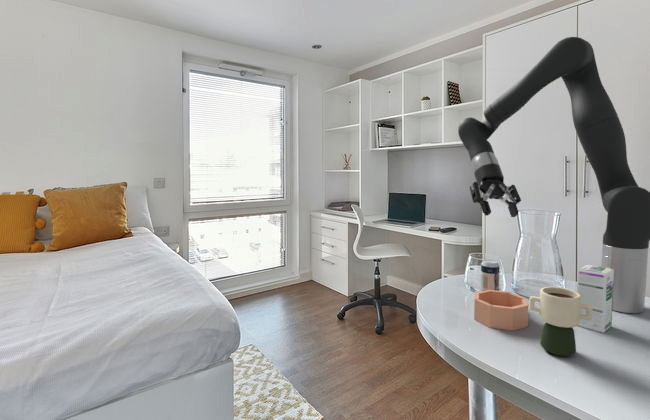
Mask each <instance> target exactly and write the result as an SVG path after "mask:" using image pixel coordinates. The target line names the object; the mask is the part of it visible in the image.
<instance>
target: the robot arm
mask: <svg viewBox="0 0 650 420" xmlns="http://www.w3.org/2000/svg"><path fill="white" fill-rule="evenodd" d="M594 51H595V50H594V48H593V46H592V44H591V43H590V42H589V41H587V40H586V39H583V38H582V37H578V36H569V37H565V38H563V39H561V40H560V41H557V43H555V44H554V45H553V46H552V48H551V49H549V51H547V53H545V55H544V56H543V57H541V59H540V60H539V61H538V62H537V64H535V65H534V66H533V68H531V69H530V70H529V71H528V72H527V73H526V74H524V76H523V77H522V78H521V79H520V80H518V81H517V82H515V84H513V85H512V86H511V87H510V88H509V89H507V91H505V92H504V93H502V94H501V95H500V96H499V97H497V98H496V99H495V100H494V101H493V102H491V103H490V104H489V105H488V106H486V108H485V109H484V110H483V116H484V118H485V119H484V120H482V122H481V121H480V120H479V119H477V118H475V117H466V118H463V120H461V121H460V122H459V125H458V128H457V131H458V132H457V134H458V137H459V139H460V141H461V142H462V144H463V146H464V148H465V149H466V150H467V152H468V155H469V158H470V161H471V167H472V170H473V174H474V177H475V181H474V182H473V183H472V184H471V185H469V192H470V194H471V195H470V196H471V200H472V202H473V204H477V203H478V204H479V205H480V207H481V211H482V213H483V214H484V216H490V214H492V210H491V206H490V203H489V201H488V200H498V201H500V202H501V203H505V205H507V209H508V211H509V214H510V217H511V218H515V217H517V216H518V215H519V213H520V212H518V211H519V210H518V206H517V204H519V203H520V202H521V201H522V198H521V197H520V194H519V191H518V190H517V188H516V185H515V184H511V185H510V186H509V185H508V186H507V185H506V184H505V182H504V180H505V179H504V174H503V172H502V169H501V166H500V163H499V160H498V158H497V157H496V154H495V152H494V149H493V147H492V145H491V143H490V141H489V140H488V139H490V137H491V136H492V135H493V134H494V133H495V131H497V130H498V128H499V127H500V126H501V124H503V123H504V122H506V121H507V120H508V119H509V118H511V117H512V116H513V115H515V114H516V113H517V112H519V111H520V110H521V109H522V108H523V107H524V106H525V105H526V104H527V103H528V102H529V101H530V100H531V99H532V98H533V97H534V96H536V95H537V93H539V92H540V91H542V90H543V89H544V88H545V87H547V86H548V85H550V84H551V83H553V82H555V81H556V80H558V79H560V78H561V79H562V81H563V83H564V85H565V87H566V89H567V91H568V95H569V97H570V104H571V115H572V120H573V127H574V129H575V132H576V134H577V138H578V140H579V142H580V145H581V146H582V150H583V152H584V154H585V156H586V158H587V160H588V162H589V163H590V164H589V165H590V166H591V168H592V169H593V172H594V175H595V177H596V181H597V184H598V188H599V192H600V197H601V198H600V199H601V201H602V206H603V208H604V210H605V211H606V212H607V215H606V226H605V227H606V229H605V231H604V233H603V235H602V249H601V250H602V251H601V263H600V264H601V265H600V266H603V267H608V268H612V269H614V279H613V305H612V311H616V312H620V313H623V314H624V313H625V314H641V313H643V312H644V309H645V304H646V302H645V301H646V300H645V299H646V288H647V273H648V272H647V271H648V261H649V260H648V259H649V258H648V257H649V247H650V246H649V244H650V191H649V190H647V189H646V188H643V187H641V186H639V185H638V183H637V182H636V180H635V177H634V175H633V173H632V171H631V168H630V166H629V163H628V158H627V156H628V155H627V154H628V152H627V142H626V140H627V139H626V135H625V131H624V128H623V126H622V123H621V121H620V120H621V119H620V118H619V115H618V113H617V111H616V109H615V106H614V104H613V102H612V100H611V98H610V96H609V95H608V93H607V90H606V89H605V87H604V85H603V83H602V80H601V77H600V73H599V69H598V66H597V62H596V56H595V52H594ZM481 193H482V194H481ZM504 196H505V197H504Z"/></svg>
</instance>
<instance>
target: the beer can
mask: <svg viewBox="0 0 650 420" xmlns="http://www.w3.org/2000/svg"><path fill="white" fill-rule="evenodd" d="M485 290H496V291H500V264H499V262H498V261H497V260H494V259H483V260H482V262H481V263H480V291H485Z"/></svg>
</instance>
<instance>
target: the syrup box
mask: <svg viewBox="0 0 650 420" xmlns="http://www.w3.org/2000/svg"><path fill="white" fill-rule="evenodd" d="M576 278H577V279H576V292H578V293H579V294H580V295H581V303H582V304H589V305H591V306H592V308H593V311H592V319H591V320H584V319H580V322H579V324H578V326H577V327H581V328H584V329H587V330H592V331H595V332H598V333H602V334H604V333H605V332H606V331H608V329H610V328H611V327H612V326H613V324H612V323H613V322H612V321H613V310H612V305H613V279H614V269H612V268H608V267H603V266H601V265H596V264H595V265H594V264H585V265H584V266H581V267H580V268H578V269H577V277H576ZM586 310H587V309H585V308H581V313H580V314H581V315H586Z"/></svg>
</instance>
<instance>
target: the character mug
mask: <svg viewBox="0 0 650 420" xmlns="http://www.w3.org/2000/svg"><path fill="white" fill-rule="evenodd" d="M528 301H529V302H528V310H530V311H532V312H538V313H539V316H540V319H541V320H542V321H543V322H544V325H543V327H542V332H541V336H540V346H541V348H543V349H544V350H546V351H547V352H549V353H551V354H554V355H558V356H560V357H561V356H562V357H565V356H568V357H569V356H571V355H574V354H575V353H576V352H577V349H576V348H577V346H576V345H577V344H576V337H575V336H576V335H575V330H574V328H575V327H579V326H578V324H579V322H580V319H584V320H591V319H592V311H593V308H592V306H591V305H589V304H582V303H581V295H580V294H579V293H578V292H577V290H576V291H575V290H573V289H570V288H565V287H560V286H546V287H542V288H541V289H540V290H539V296H534V295H533V296H532V295H531V296H529V299H528ZM536 302H538V303H539V307H536V306H535V305H536V304H535V303H536ZM581 308H585V309H587V310H586V315H581V314H580V313H581Z"/></svg>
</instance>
